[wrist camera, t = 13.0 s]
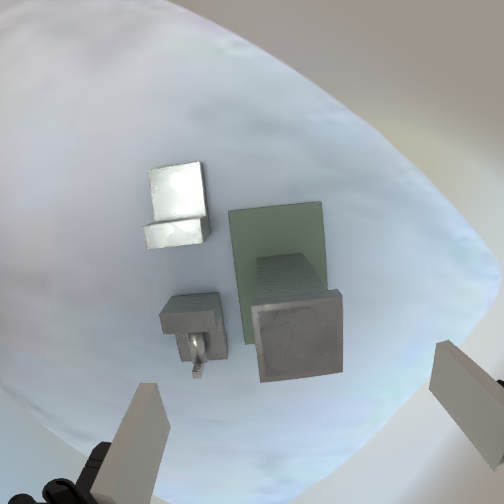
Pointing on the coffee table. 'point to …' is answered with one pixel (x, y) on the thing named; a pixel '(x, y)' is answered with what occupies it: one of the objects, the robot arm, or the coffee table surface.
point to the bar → (295, 320)
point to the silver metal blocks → (183, 233)
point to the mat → (273, 246)
